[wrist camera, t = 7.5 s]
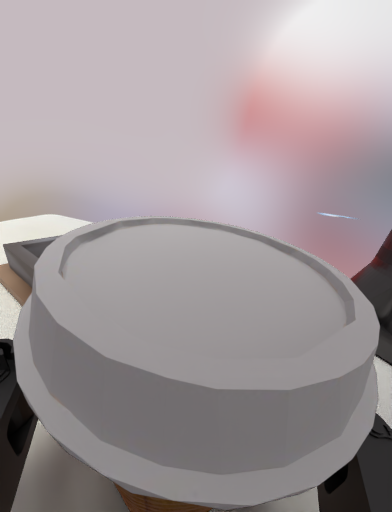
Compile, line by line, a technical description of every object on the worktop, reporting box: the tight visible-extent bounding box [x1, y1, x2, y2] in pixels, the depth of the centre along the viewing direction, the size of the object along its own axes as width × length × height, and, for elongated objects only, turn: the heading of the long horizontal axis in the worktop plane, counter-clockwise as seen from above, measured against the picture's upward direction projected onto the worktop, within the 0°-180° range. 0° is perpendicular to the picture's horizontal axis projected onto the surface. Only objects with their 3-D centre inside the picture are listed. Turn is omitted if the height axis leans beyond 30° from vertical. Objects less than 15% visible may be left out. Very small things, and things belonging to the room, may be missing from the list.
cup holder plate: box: [0, 235, 62, 306], centre depth 24 cm, size 18×18×4 cm
